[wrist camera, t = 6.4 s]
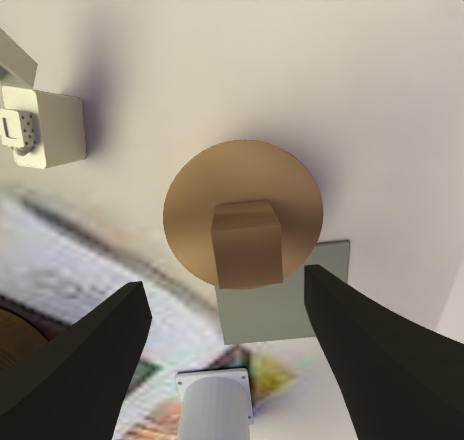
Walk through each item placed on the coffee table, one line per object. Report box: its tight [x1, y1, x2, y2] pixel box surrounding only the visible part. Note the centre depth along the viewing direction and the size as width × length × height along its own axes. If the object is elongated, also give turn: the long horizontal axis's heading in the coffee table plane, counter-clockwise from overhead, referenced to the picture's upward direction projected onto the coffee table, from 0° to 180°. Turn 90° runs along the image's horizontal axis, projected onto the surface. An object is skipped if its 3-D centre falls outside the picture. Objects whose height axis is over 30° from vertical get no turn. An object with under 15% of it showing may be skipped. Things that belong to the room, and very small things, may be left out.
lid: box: [163, 140, 323, 290], centre depth 13 cm, size 10×10×5 cm
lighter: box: [0, 28, 87, 169], centre depth 13 cm, size 7×2×8 cm, turn 172°
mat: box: [215, 240, 350, 345], centre depth 23 cm, size 10×12×1 cm
